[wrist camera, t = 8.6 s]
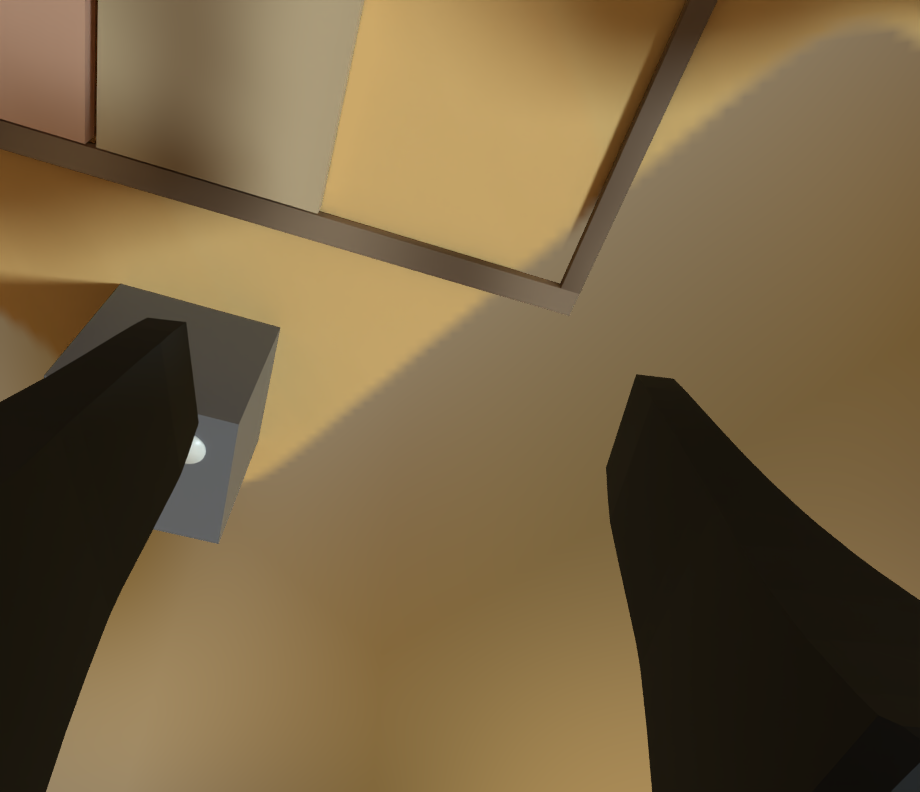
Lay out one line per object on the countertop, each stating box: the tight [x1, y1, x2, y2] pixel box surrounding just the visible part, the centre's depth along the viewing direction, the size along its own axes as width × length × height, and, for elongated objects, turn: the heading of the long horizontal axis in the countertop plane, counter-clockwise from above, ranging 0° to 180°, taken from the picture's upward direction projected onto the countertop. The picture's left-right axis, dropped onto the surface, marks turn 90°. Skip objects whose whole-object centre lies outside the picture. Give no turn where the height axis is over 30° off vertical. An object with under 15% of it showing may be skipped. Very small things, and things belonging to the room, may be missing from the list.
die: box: [44, 284, 280, 544], centre depth 23 cm, size 5×5×5 cm
